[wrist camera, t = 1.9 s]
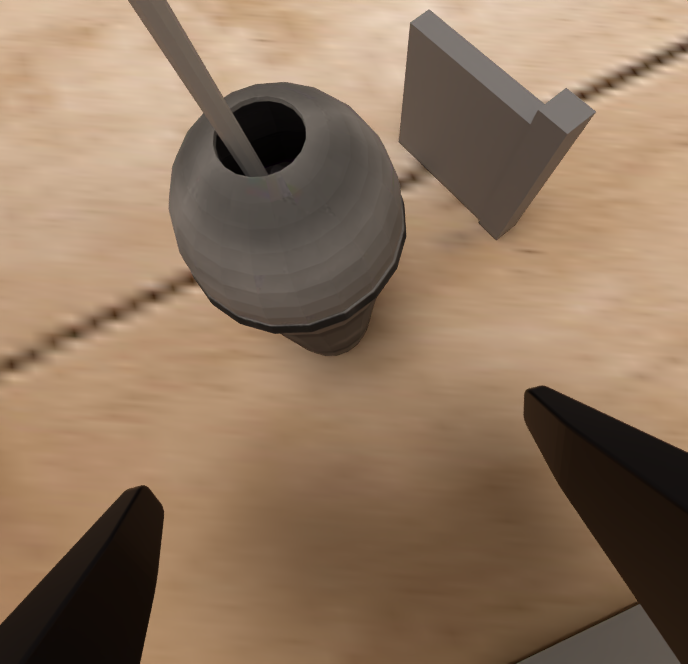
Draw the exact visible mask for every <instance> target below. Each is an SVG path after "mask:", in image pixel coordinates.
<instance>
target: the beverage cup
mask: <svg viewBox="0 0 688 664" xmlns="http://www.w3.org/2000/svg"><path fill="white" fill-rule="evenodd" d="M128 1H129V3H130V4H131V5H132V7H133V8H134V10H135V11H136V13H137V14H138V16H139V17H140V19H141V20H142V22H143V23H144V25H145V26H146V28H147V29H148V31H149V32H150V34H151V35H152V37H153V38H154V40H155V41H156V43H157V44H158V46H159V47H160V49H161V50H162V52H163V53H164V55H165V56H166V58H167V59H168V61H169V62H170V64H171V65H172V67H173V68H174V70H175V71H176V73H177V74H178V76H179V77H180V79H181V80H182V82H183V83H184V85H185V86H186V88H187V89H188V90H189V92H190V93H191V95H192V96H193V98H194V99H195V101H196V102H197V104H198V105H199V107H200V108H201V110H202V111H203V114H202V116H201V117H200V118H199V119H198V120H197V121H196V122H195V123H194V125H193V126H192V127H191V128H190V129H189V130H188V132H187V134H186V136H185V138H184V140H183V143H182V145H181V147H180V149H179V151H178V154H177V156H176V158H175V161H174V164H173V166H172V174H171V184H170V193H169V212H170V216H171V221H172V225H173V229H174V233H175V236H176V240H177V244H178V248H179V252H180V254H181V256H182V257H183V259H184V261H185V263H186V264H187V266H188V267H189V269H190V270H191V273H192V275H193V277H194V279H195V280H196V282H197V283H198V285H199V286H200V287H201V289H202V290H203V292H204V293H205V295H206V296H207V297H208V299H209V300H210V302H211V303H212V304H213V305H214V306H215V307H217V308H218V309H220V310H221V311H223V312H224V313H225V314H227V315H228V316H230V317H231V318H232V319H234V320H235V321H237V322H238V323H240V324H242V325H246V326H249V327H253V328H256V329H260V330H263V331H267V332H270V333H274V334H278V333H280V334H282V335H283V336H285V337H287V338H288V339H290V340H292V341H293V342H295V343H297V344H299V345H300V346H302V347H304V348H305V349H307V350H309V351H312V352H314V353H318V354H321V355H325V356H332V355H339V354H342V353H345V352H348V351H349V350H350V349H352V348H353V347H354V346H356V345H357V344H358V343H359V341H360V340H361V338H362V337H363V335H364V333H365V331H366V330H367V326H368V323H369V320H370V316H371V313H372V310H373V306H374V303H375V300H376V298H377V296H378V295H379V293H380V292H381V290H382V289H383V288H384V286H385V285H386V283H387V282H388V281H389V279H390V278H391V276H392V275H393V273H394V272H395V271H396V269H397V267H398V263H399V260H400V256H401V253H402V249H403V246H404V243H405V239H406V223H405V208H404V202H403V198H402V196H401V190H400V184H399V180H398V176H397V174H396V171H395V169H394V167H393V165H392V162H391V160H390V158H389V156H388V153H387V151H386V149H385V147H384V145H383V143H382V141H381V139H380V138H379V136H378V135H377V134H376V133H375V132H374V131H373V130H372V129H371V128H370V127H369V126H368V125H367V123H366V122H365V121H364V120H363V119H362V118H361V117H360V116H359V115H358V114H357V113H356V112H355V111H354V110H353V109H352V108H351V107H350V106H349V105H347V104H345V103H343V102H341V101H339V100H337V99H336V98H334V97H332V96H330V95H328V94H326V93H324V92H322V91H320V90H318V89H316V88H314V87H309V86H304V85H298V84H293V83H288V82H279V83H266V84H255V85H252V86H249V87H246V88H243V89H240V90H238V91H235V92H232V93H230V94H229V95H227V96H226V97H224V98H223V96H222V94H221V93H220V91H219V89H218V87H217V86H216V84H215V82H214V81H213V79H212V77H211V76H210V74H209V72H208V70H207V69H206V67H205V65H204V64H203V62H202V60H201V58H200V57H199V55H198V53H197V52H196V50H195V48H194V47H193V45H192V43H191V41H190V40H189V38H188V36H187V35H186V33H185V31H184V29H183V28H182V26H181V24H180V23H179V21H178V19H177V17H176V16H175V14H174V12H173V11H172V9H171V7H170V6H169V4H168V2H167V0H128Z"/></svg>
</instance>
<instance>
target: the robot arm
mask: <svg viewBox="0 0 688 664" xmlns="http://www.w3.org/2000/svg"><path fill="white" fill-rule="evenodd" d="M524 420H525V423H526V425H527V427H528V429H529V431H530V433H531V435H532V436H533V438H534V440H535V442H536V444H537V446H538V448H539V449H540V451H541V453H542V455H543V457H544V459H545V461H546V462H547V464H548V466H549V468H550V470H551V472H552V474H553V475H554V477H555V479H556V481H557V482H558V484H559V486H560V487H561V489H562V490H563V492H564V493H565V495H566V496H567V498H568V499H569V501H570V502H571V504H572V505H573V507H574V508H575V510H576V511H577V513H578V514H579V515H580V517H581V518H582V520H583V521H584V523H585V524H586V526H587V527H588V529H589V530H590V532H591V533H592V535H593V536H594V537H595V539H596V540H597V542H598V543H599V545H600V546H601V548H602V549H603V551H604V552H605V554H606V555H607V556H608V558H609V559H610V561H611V562H612V564H613V565H614V567H615V568H616V570H617V571H618V573H619V574H620V576H621V577H622V578H623V580H624V581H625V583H626V584H627V586H628V587H629V589H630V590H631V592H632V593H633V595H634V596H635V598H636V599H637V600H638V602H639V603H640V605H641V606H642V608H643V609H644V611H645V612H646V614H647V615H648V617H649V618H650V619H651V621H652V622H653V624H654V625H655V627H656V628H657V630H658V631H659V633H660V634H661V636H662V637H663V639H664V640H665V641H666V643H667V644H668V646H669V647H670V649H671V650H672V652H673V653H674V655H675V656H676V658H677V659H678V660H679V662H680V663H681V664H688V452H686V451H684V450H682V449H679V448H677V447H675V446H673V445H671V444H669V443H667V442H664V441H662V440H660V439H658V438H656V437H654V436H652V435H649V434H647V433H645V432H643V431H641V430H639V429H637V428H635V427H632V426H630V425H628V424H626V423H624V422H622V421H620V420H617V419H615V418H613V417H611V416H609V415H607V414H605V413H602V412H600V411H598V410H596V409H594V408H592V407H590V406H587V405H585V404H583V403H581V402H579V401H577V400H575V399H573V398H570V397H568V396H566V395H564V394H562V393H560V392H558V391H555V390H553V389H551V388H549V387H547V386H537V387H533V388H529V389H527V390H526V391H525V394H524ZM163 521H164V509H163V506H162V504H161V503H160V502H159V500H158V499H157V498H156V496H155V495H154V494H153V493H152V491H151V490H150V489H149V488H148V487H147V486H145V485H141V486H137V487H134V488H130V489H127V490H126V491H124V492H123V493H122V494H121V496H120V497H119V498H118V499H117V500H116V501H115V502H114V503H113V504H112V505H111V506H110V507H109V508H108V510H107V511H106V512H105V513H104V514H103V515H102V516H101V517H100V518H99V519H98V520H97V521H96V522H95V524H94V525H93V526H92V527H91V528H90V529H89V530H88V531H87V532H86V533H85V534H84V535H83V536H82V538H81V539H80V540H79V541H78V542H77V543H76V544H75V545H74V546H73V547H72V548H71V549H70V550H69V552H68V553H67V554H66V555H65V556H64V557H63V558H62V559H61V560H60V561H59V562H58V563H57V564H56V566H55V567H54V568H53V569H52V570H51V571H50V572H49V573H48V574H47V575H46V576H45V577H44V578H43V579H42V581H41V582H40V583H39V584H38V585H37V586H36V587H35V588H34V589H33V590H32V591H31V592H30V593H29V595H28V596H27V597H26V598H25V599H24V600H23V601H22V602H21V603H20V604H19V605H18V606H17V607H16V608H15V610H14V611H13V612H12V613H11V614H10V615H9V616H8V617H7V618H6V619H5V620H4V621H3V622H2V624H1V625H0V664H140V661H141V656H142V651H143V647H144V642H145V637H146V632H147V627H148V623H149V618H150V613H151V608H152V604H153V599H154V594H155V588H156V583H157V576H158V567H159V558H160V549H161V540H162V530H163Z"/></svg>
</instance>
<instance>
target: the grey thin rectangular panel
mask: <svg viewBox="0 0 688 664" xmlns="http://www.w3.org/2000/svg"><path fill="white" fill-rule="evenodd" d="M516 664H681V663H680V662H679V660H678V659H677V658H676V656H675V655H674V653H673V652H672V650H671V649H670V647H669V646H668V644H667V643H666V641H665V640H664V639H663V637H662V636H661V634H660V633H659V631H658V630H657V628H656V627H655V625H654V624H653V622H652V621H651V619H650V618H649V617H648V615H647V614H646V612H645V611H644V609H643V608H642V606H641V605H640V604H639V605H636V606H634V607H632V608H630V609H628V610H626V611H624V612H622V613H620V614H618V615H616V616H614V617H612V618H610V619H607V620H605V621H603V622H601V623H599V624H597V625H595V626H593V627H591V628H589V629H587V630H585V631H583V632H581V633H578V634H576V635H574V636H572V637H570V638H568V639H566V640H564V641H562V642H560V643H558V644H556V645H554V646H552V647H549V648H547V649H545V650H543V651H541V652H539V653H537V654H535V655H533V656H531V657H529V658H527V659H525V660H523V661H520V662H518V663H516Z"/></svg>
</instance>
